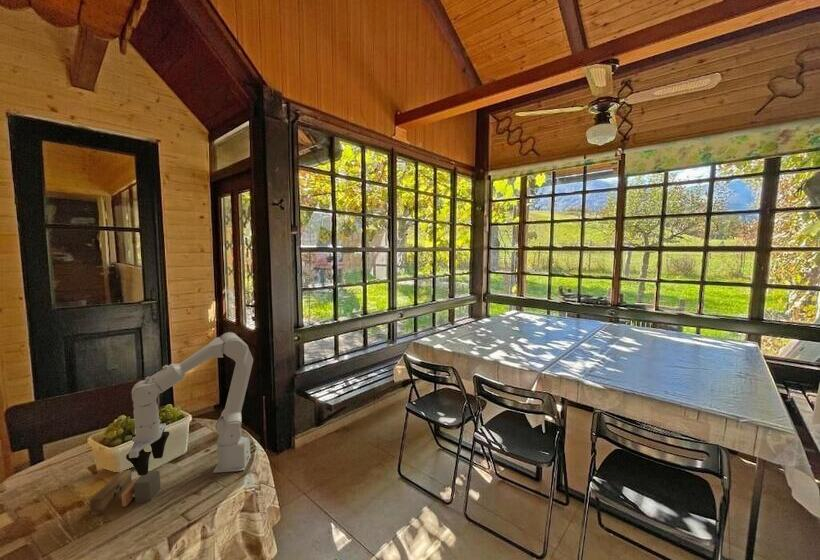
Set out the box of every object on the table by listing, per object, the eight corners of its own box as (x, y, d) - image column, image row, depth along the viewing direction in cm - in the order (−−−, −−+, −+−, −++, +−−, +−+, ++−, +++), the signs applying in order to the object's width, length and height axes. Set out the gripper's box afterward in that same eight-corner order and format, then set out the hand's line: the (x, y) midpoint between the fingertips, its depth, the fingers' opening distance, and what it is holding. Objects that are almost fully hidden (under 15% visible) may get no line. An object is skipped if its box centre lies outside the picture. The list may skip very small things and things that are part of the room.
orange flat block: (143, 486, 106) (142, 475, 106) (126, 506, 98) (125, 494, 98) (140, 486, 106) (139, 475, 106) (122, 506, 98) (121, 494, 98)
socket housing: (132, 483, 108) (131, 469, 107) (104, 513, 96) (102, 498, 95) (121, 484, 107) (120, 470, 107) (91, 514, 95) (89, 499, 95)
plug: (160, 489, 105) (159, 470, 105) (150, 501, 100) (149, 481, 100) (140, 490, 105) (139, 472, 104) (129, 503, 100) (128, 483, 99)
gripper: (147, 410, 108) (150, 452, 110) (114, 437, 94) (119, 483, 95) (171, 409, 109) (175, 450, 111) (143, 435, 95) (147, 481, 96)
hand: (150, 465), depth 103 cm, fingers open, 7 cm apart
